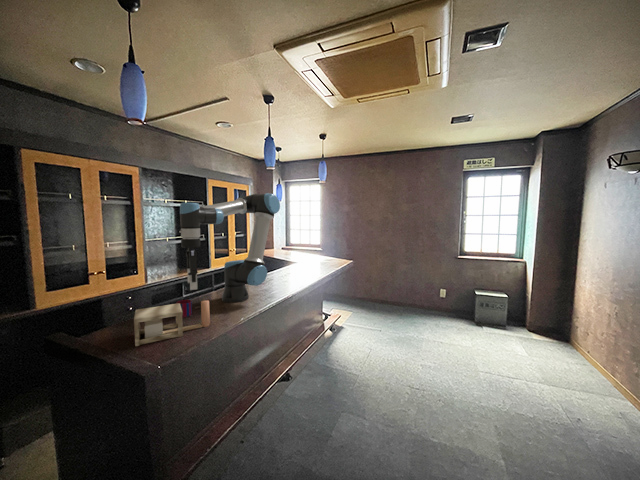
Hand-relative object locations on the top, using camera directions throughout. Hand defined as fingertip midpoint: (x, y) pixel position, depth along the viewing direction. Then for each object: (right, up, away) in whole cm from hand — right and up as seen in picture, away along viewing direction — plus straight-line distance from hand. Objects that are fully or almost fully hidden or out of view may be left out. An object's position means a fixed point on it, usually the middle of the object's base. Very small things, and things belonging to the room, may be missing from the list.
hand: (192, 285), depth 113 cm
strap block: (-3, -19, -4) cm, 19 cm away
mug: (-11, -17, +12) cm, 24 cm away
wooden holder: (-9, -19, -8) cm, 23 cm away
